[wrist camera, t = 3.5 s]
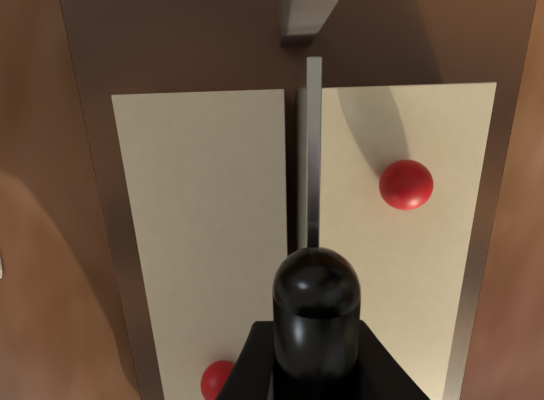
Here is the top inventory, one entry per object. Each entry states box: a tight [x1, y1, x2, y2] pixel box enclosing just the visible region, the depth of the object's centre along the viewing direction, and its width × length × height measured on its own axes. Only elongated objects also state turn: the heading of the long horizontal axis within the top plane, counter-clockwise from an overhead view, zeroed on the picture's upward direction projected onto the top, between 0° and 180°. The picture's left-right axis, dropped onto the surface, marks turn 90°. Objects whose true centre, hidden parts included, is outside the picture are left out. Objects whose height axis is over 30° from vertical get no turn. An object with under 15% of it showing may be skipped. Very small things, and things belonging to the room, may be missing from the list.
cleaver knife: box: [272, 56, 361, 400], centre depth 10 cm, size 15×2×6 cm, turn 2°
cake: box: [111, 82, 497, 400], centre depth 13 cm, size 14×12×5 cm
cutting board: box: [60, 0, 536, 400], centre depth 12 cm, size 24×18×8 cm
